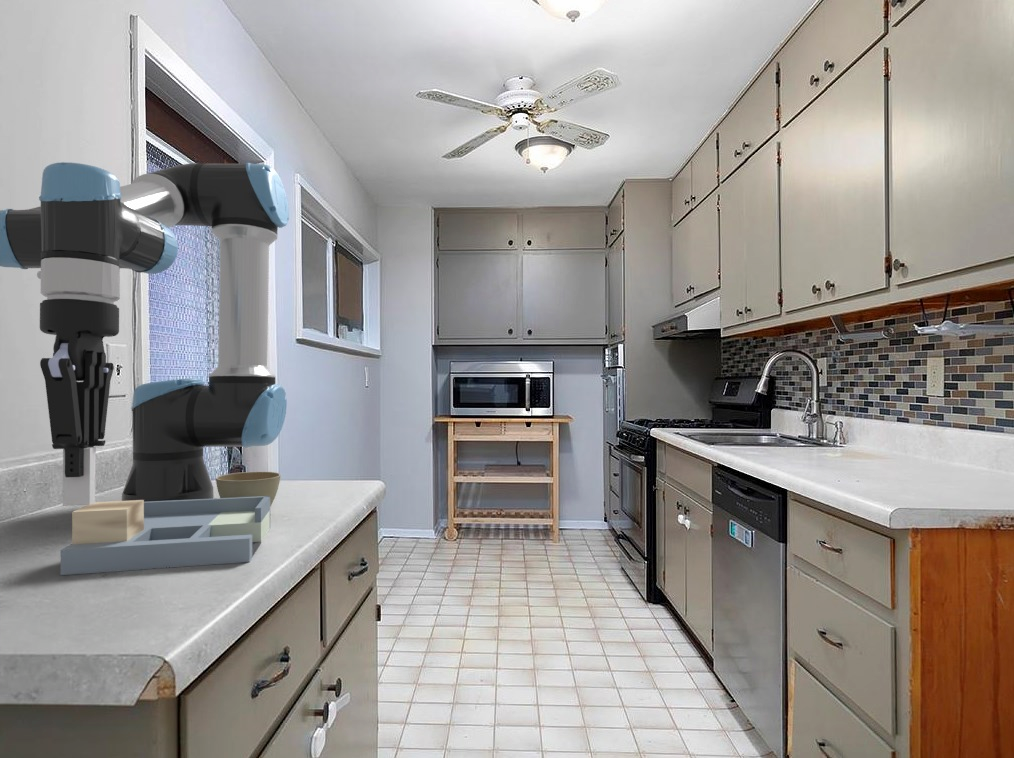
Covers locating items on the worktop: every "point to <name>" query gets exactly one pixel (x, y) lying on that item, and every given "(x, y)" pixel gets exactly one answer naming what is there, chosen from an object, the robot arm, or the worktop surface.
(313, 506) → the worktop surface
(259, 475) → the tan bowl
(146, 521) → the tray
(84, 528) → the block
